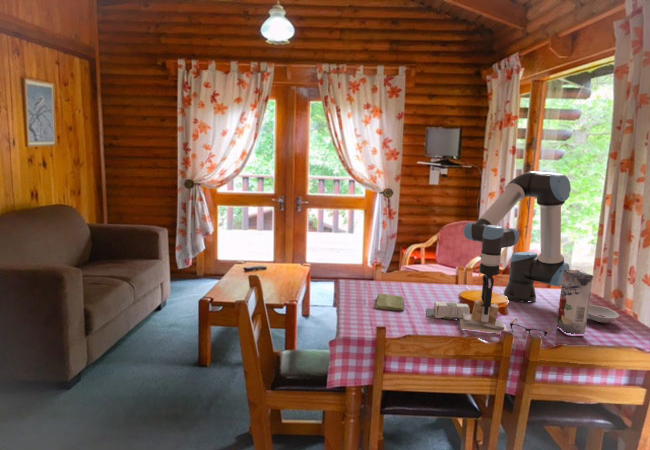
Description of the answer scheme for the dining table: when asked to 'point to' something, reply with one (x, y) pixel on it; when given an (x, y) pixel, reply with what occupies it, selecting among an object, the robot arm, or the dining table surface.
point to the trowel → (477, 315)
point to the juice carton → (574, 301)
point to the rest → (479, 327)
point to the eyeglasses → (528, 329)
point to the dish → (601, 313)
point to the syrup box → (450, 310)
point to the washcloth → (390, 302)
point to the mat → (430, 313)
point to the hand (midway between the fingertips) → (484, 319)
